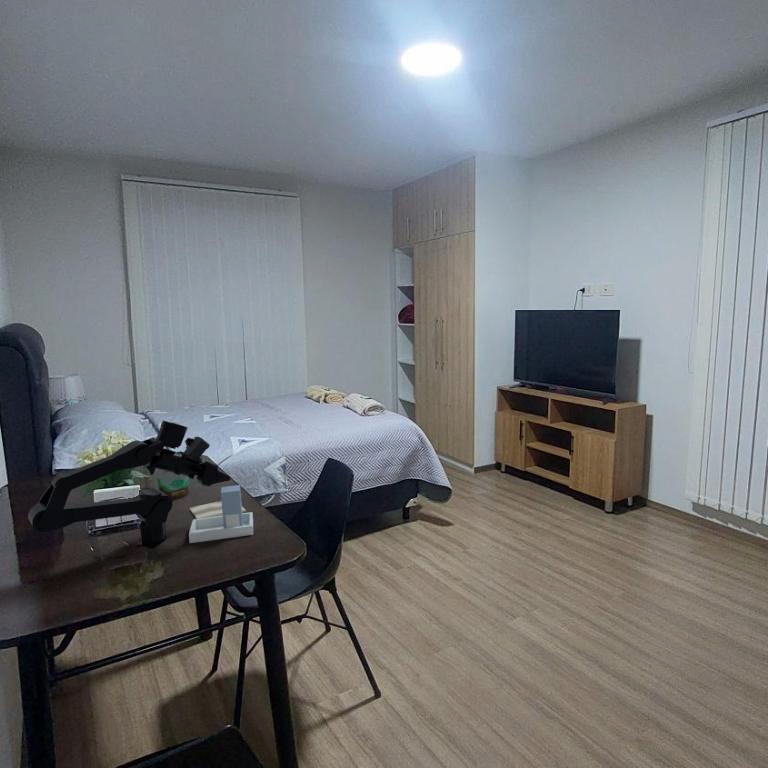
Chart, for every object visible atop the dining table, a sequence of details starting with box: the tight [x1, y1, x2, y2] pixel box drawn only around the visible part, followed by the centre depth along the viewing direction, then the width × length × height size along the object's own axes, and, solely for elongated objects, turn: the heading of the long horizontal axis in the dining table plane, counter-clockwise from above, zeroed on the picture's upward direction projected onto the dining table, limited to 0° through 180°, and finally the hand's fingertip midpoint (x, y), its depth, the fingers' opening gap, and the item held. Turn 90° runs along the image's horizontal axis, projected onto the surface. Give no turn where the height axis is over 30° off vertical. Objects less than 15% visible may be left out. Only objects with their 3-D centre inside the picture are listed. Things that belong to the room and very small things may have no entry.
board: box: [189, 500, 248, 519], centre depth 163 cm, size 14×14×1 cm
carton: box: [220, 484, 243, 528], centre depth 147 cm, size 5×5×12 cm
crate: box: [188, 511, 254, 544], centre depth 147 cm, size 17×11×3 cm, turn 104°
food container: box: [154, 471, 190, 501], centre depth 178 cm, size 12×6×10 cm, turn 143°
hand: (223, 475), depth 154 cm, fingers open, 9 cm apart
